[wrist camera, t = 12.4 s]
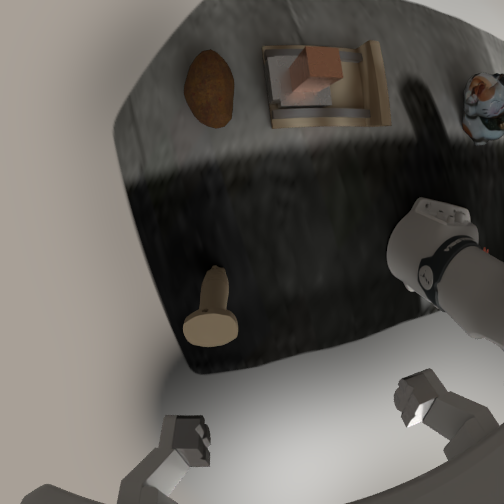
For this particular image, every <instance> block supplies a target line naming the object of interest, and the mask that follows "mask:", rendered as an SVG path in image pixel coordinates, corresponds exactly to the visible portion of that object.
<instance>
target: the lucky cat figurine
mask: <svg viewBox="0 0 504 504" xmlns="http://www.w3.org/2000/svg"><path fill="white" fill-rule="evenodd" d="M462 126H463V130H464V131H465V132H466V133H467V134H468V135H469V136H470V137H471V139H472V140H473V141H474V144H475V145H477V146H478V145H484V144H486V143H487V142H488V141H489V140H497V139H499V138H500V137H502V136H503V135H504V74H498V73H496V74H493V75H491V74H488V73H480V74H475V75H473V76H472V77H471V78H470V79H469V81H468V83H467V85H466V88H465V90H464V114H463V122H462Z"/></svg>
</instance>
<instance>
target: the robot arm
mask: <svg viewBox="0 0 504 504" xmlns="http://www.w3.org/2000/svg"><path fill="white" fill-rule="evenodd" d="M426 204H427V205H426ZM478 240H479V236H478V230H477V227H476V226H475V225H474V224H472V223H471V222H470V215H469V211H468V210H467V209H466V208H464V207H460V206H456V205H452V204H448V203H444V202H440V201H436V200H432V199H427V198H423V197H420V198H418V199H417V200H416V202H415V203H414V205H413V207H412V209H411V211H410V212H409V213H408V214H407V215H406V216H405V217H404V218H402V219H401V221H400V222H399V223H398V224H397V226H396V227H395V229H394V230H393V232H392V234H391V237H390V239H389V243H388V247H387V263H388V266H389V269H390V271H391V272H392V274H393V275H394V276H395V277H396V278H398V279H400V280H401V281H403V282H404V285H405V287H406V288H407V289H408V290H409V291H411V292H413V291H416V292H417V293H418V294H420V295H421V296H422V297H424V298H425V299H426V300H428V301H429V302H432V303H433V305H434V306H435V307H436V308H438V309H440V310H441V311H443V312H446V313H447V314H448V315H449V316H450V317H451V318H452V319H453V320H454V321H455V322H456V323H457V324H458V325H459V326H460V327H461V328H462V329H463V330H464V331H465V332H466V333H467V334H468V335H469V336H470V337H472V338H475V339H481V338H485V339H487V340H489V341H491V342H493V343H495V344H496V345H498V346H499V347H500V348H501V349H502V350H503V351H504V263H503V262H502V261H500V260H498V259H496V258H495V257H493V256H491V255H490V254H488V249H487V252H485V247H484V249H483V250H482V248H481V247H480V246H479V245H478ZM398 385H399V388H398V389H397V390H396V391H395V394H394V402H395V406H396V408H397V410H399V411H401V412H402V415H401V418H402V419H403V422H404V423H405V425H406V427H409V426H412V425H415V424H417V423H419V422H422V421H423V423H424V424H426V425H427V426H429V427H430V428H432V429H433V430H435V431H436V432H438V433H439V434H441V435H442V436H444V437H445V438H447V439H449V440H450V442H449V443H448V444H447V445H446V446H445V448H444V453H445V455H446V457H447V459H448V461H447V462H445V463H444V464H442V465H440V466H438V467H436V468H434V469H432V470H430V471H428V472H427V473H425V474H422V475H420V476H418V477H416V478H414V479H412V480H410V481H407V482H405V483H403V484H400V485H398V486H396V487H393V488H391V489H388V490H386V491H383V492H380V493H377V494H375V495H372V496H369V497H366V498H363V499H360V500H357V501H354V502H350V503H346V504H504V423H503V424H501V425H500V426H499V424H498V423H497V421H496V420H495V418H494V417H493V415H492V414H491V412H490V411H489V409H488V408H487V407H485V406H483V405H480V404H478V403H476V402H474V401H471V400H469V399H467V398H464V397H462V396H460V395H458V394H455V393H453V392H451V391H450V392H447V390H446V389H445V387H444V386H443V384H442V383H441V381H440V380H439V379H438V377H437V376H436V374H435V373H434V372H433V370H432V369H430V368H429V369H426V370H423V371H421V372H418V373H415V374H413V375H410V376H408V377H405V378H402V379H401V380H400V381H399V383H398ZM210 440H211V438H210V431H209V427H208V426H207V425H206V424H205V419H204V417H203V416H202V415H194V416H193V415H191V416H190V415H189V416H184V415H180V416H179V415H165V417H164V420H163V425H162V430H161V436H160V442H159V448H155V449H154V450H153V451H151V452H150V453H149V454H148V455H147V456H146V458H145V459H143V460H142V461H141V462H140V463H139V464H138V465H137V466H136V467H135V468H134V469H133V470H132V471H131V472H130V473H129V474H128V475H127V476H126V477H125V478H124V479H123V480H122V481H121V485H120V490H119V495H118V500H117V504H178V503H176V502H175V501H174V500H172V499H171V498H169V497H168V496H169V495H170V493H171V492H172V491H173V489H174V488H175V487H176V486H177V484H178V483H179V482H180V480H181V479H182V478H183V476H184V475H185V474H186V472H187V471H188V470H189V467H208V466H210V452H209V451H208V449H207V448H208V447H209V446H210ZM21 504H104V503H100V502H97V501H94V500H91V499H88V498H85V497H82V496H79V495H76V494H73V493H71V492H68V491H66V490H63V489H61V488H58V487H56V486H53V485H50V484H45V485H43V486H40V487H39V488H37V489H35V490H34V491H32V492H31V493H29V494H28V495H26V496H25V497H24V498H23V500H22V502H21Z"/></svg>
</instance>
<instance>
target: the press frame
mask: <svg viewBox="0 0 504 504" xmlns="http://www.w3.org/2000/svg"><path fill="white" fill-rule="evenodd" d="M313 47H326V46H313ZM304 48H305V46H304V45H276V46H262V53H263V61H264V65H265V62H266V60H267V57H274V56H298V55H299V54H300V53H301V51H302V50H303V49H304ZM330 48H338V49H339V54H340V60H341V66H342V72H343V78H342V79H341V80H339V81H337V82H335V83H333V84H332V85H330V92H331V100H332V105H331V106H328V107H311V108H283V109H278V105H277V104H271V105H269V107H270V116H271V125H272V129H276V128H291V127H314V126H363V127H376V126H392V125H391V114H390V105H389V97H388V89H387V82H386V76H385V70H384V64H383V58H382V53H381V48H380V44H379V42H377V41H372V40H369V41H367V42H366V43H364V44H363V45H361V46H360V47H358V48H357V49H349V48H339V47H330Z"/></svg>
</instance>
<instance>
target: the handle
mask: <svg viewBox="0 0 504 504" xmlns="http://www.w3.org/2000/svg"><path fill="white" fill-rule="evenodd" d="M228 292H229V285H228V279H227V275H226V271H225V269H224V268H220V267H217V266H216V265H215V266H213V267H212V268H211V269H210V270H208V271H207V273H206V276H205V278H204V280H203V283H202V287H201V297H200V308H199V310H197V311H195V312H194V313H192V314H190V315H189V316H188V317H186V319H185V322H184V326H183V332H184V335H185V337H186V339H187V340H188V341H189V342H190V343H192V344H194V345H198V346H204V347H213V346H220V345H224V344H226V343H228V342H230V341H232V340H233V339H235V338H236V337H237V334H238V323H237V320H236V317H235V316H234V314H233V313H232V312H230V311H229V310H226V305H227V299H228Z"/></svg>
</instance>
